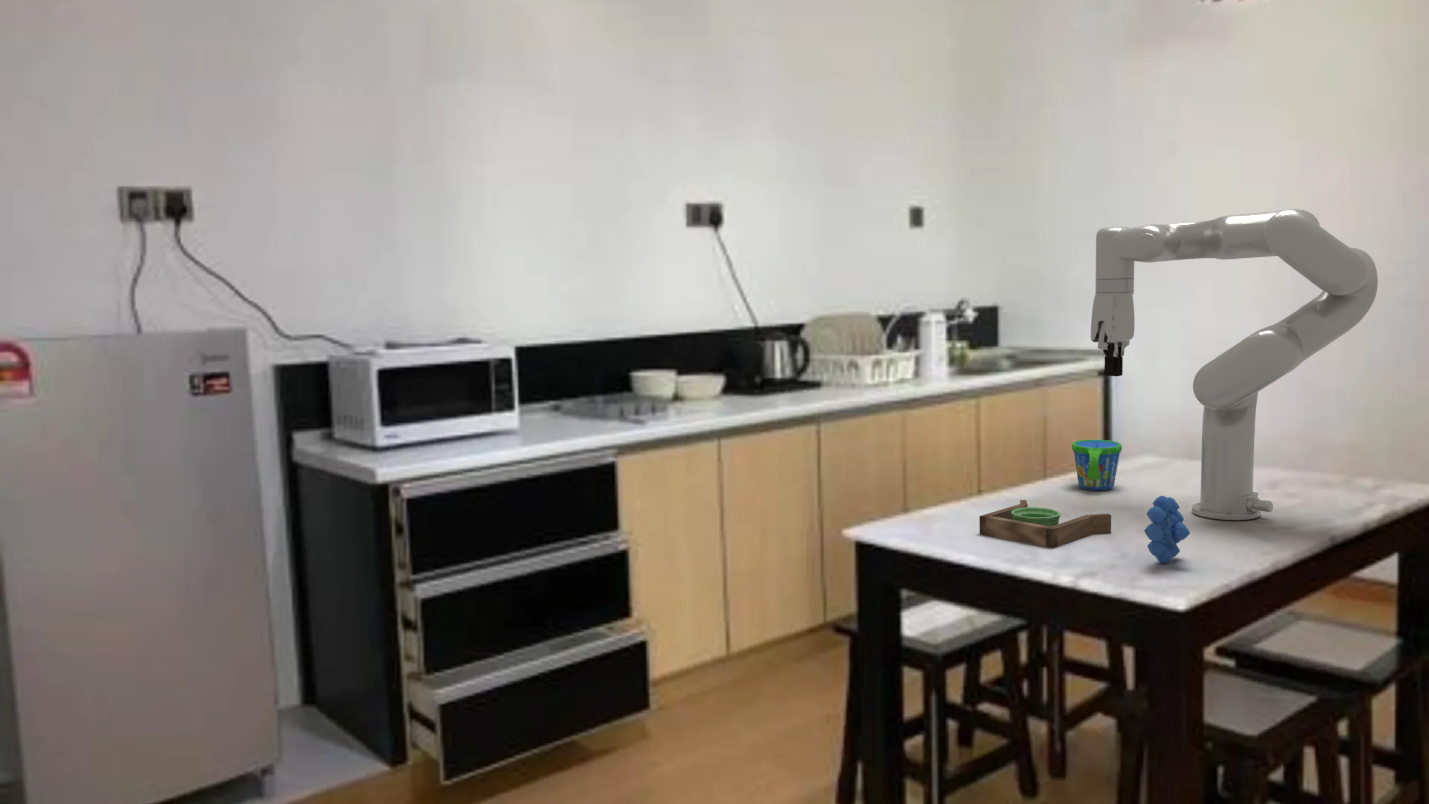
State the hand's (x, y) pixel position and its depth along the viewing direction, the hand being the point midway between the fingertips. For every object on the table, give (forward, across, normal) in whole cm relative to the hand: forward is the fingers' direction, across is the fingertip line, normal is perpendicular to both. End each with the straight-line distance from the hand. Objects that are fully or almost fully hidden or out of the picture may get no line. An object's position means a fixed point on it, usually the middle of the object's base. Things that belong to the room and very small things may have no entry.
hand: (1113, 375), depth 237 cm
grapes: (+27, +36, +31) cm, 55 cm away
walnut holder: (+27, +31, +3) cm, 42 cm away
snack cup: (+27, -11, -10) cm, 31 cm away
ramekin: (+27, +33, +3) cm, 43 cm away
